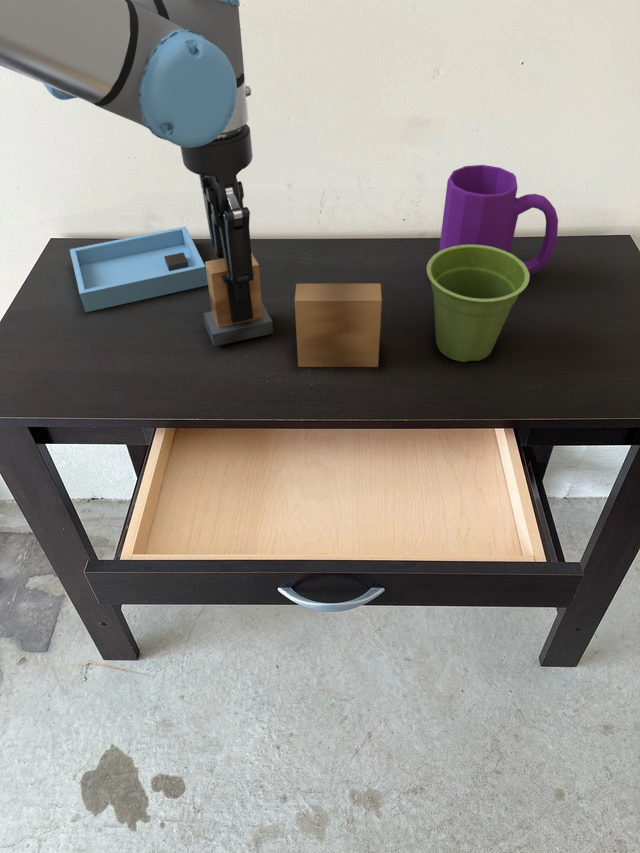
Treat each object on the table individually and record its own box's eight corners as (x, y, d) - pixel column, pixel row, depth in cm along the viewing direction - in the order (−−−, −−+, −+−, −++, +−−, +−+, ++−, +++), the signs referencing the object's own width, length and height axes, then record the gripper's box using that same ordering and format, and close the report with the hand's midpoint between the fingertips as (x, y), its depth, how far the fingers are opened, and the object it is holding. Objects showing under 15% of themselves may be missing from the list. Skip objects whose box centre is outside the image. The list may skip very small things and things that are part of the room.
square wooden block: (298, 367, 83) (294, 300, 75) (299, 349, 85) (296, 283, 78) (378, 367, 82) (381, 300, 75) (377, 349, 85) (380, 283, 78)
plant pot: (411, 368, 82) (419, 291, 74) (426, 313, 90) (434, 239, 82) (508, 383, 80) (527, 306, 72) (514, 325, 88) (532, 250, 80)
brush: (214, 346, 85) (204, 279, 78) (204, 325, 88) (195, 259, 81) (273, 333, 87) (269, 266, 80) (261, 312, 90) (257, 247, 83)
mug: (436, 260, 99) (447, 162, 89) (541, 266, 98) (566, 167, 87) (435, 295, 93) (448, 194, 82) (548, 301, 91) (576, 199, 81)
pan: (85, 312, 92) (79, 293, 90) (75, 267, 100) (69, 249, 98) (208, 285, 96) (205, 266, 94) (188, 244, 104) (185, 226, 102)
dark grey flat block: (169, 271, 98) (168, 266, 97) (165, 261, 100) (163, 256, 99) (189, 267, 98) (187, 261, 98) (184, 257, 100) (183, 252, 100)
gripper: (271, 149, 64) (285, 339, 81) (227, 95, 75) (248, 273, 92) (196, 162, 63) (226, 354, 79) (162, 105, 73) (195, 285, 90)
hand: (238, 311), depth 85 cm, fingers closed on brush, 3 cm apart
